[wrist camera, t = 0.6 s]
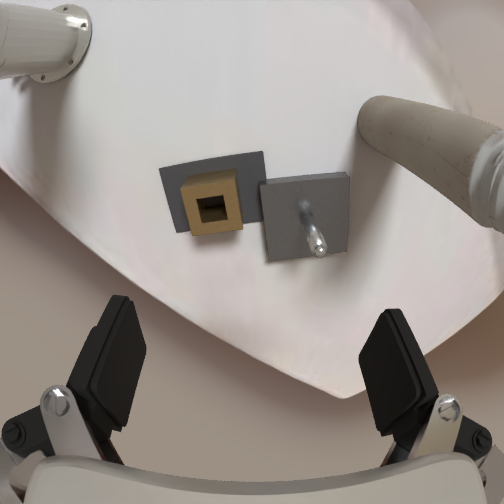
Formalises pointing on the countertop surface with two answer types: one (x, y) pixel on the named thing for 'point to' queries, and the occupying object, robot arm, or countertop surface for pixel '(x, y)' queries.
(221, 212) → the collar
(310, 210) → the grey peg stand
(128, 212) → the countertop surface
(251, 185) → the mat
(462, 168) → the thermos bottle
